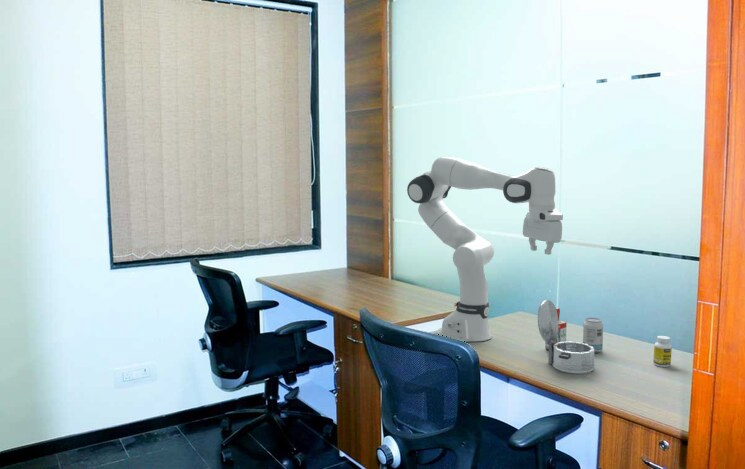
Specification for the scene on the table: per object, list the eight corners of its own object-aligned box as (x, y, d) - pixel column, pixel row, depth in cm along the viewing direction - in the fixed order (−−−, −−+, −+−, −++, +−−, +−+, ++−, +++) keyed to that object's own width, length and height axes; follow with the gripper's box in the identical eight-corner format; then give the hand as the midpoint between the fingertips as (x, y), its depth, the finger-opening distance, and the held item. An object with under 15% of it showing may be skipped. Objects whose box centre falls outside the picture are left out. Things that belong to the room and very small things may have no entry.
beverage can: (600, 348, 224) (601, 317, 223) (604, 354, 217) (605, 322, 216) (580, 347, 225) (581, 316, 224) (584, 353, 218) (585, 321, 217)
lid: (545, 348, 203) (535, 348, 205) (562, 338, 214) (552, 338, 216) (538, 304, 202) (528, 304, 205) (556, 296, 214) (546, 297, 216)
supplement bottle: (663, 368, 202) (665, 340, 201) (649, 363, 207) (651, 336, 206) (674, 365, 205) (675, 338, 203) (660, 361, 209) (661, 334, 208)
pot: (539, 368, 203) (540, 349, 202) (560, 355, 216) (560, 337, 215) (582, 378, 194) (583, 357, 193) (601, 364, 207) (602, 344, 206)
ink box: (566, 347, 226) (567, 309, 224) (552, 351, 221) (553, 313, 220) (558, 345, 229) (559, 308, 227) (544, 349, 224) (545, 311, 223)
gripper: (518, 211, 219) (518, 248, 221) (549, 216, 200) (548, 257, 201) (534, 210, 221) (533, 247, 222) (566, 215, 201) (564, 256, 203)
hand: (540, 252), depth 212 cm, fingers open, 8 cm apart
